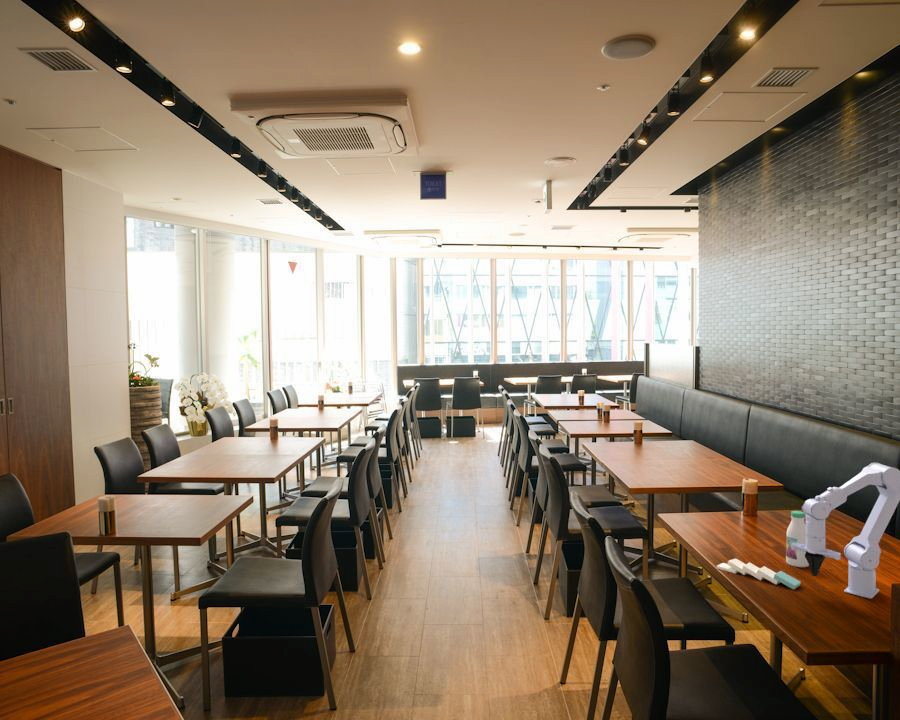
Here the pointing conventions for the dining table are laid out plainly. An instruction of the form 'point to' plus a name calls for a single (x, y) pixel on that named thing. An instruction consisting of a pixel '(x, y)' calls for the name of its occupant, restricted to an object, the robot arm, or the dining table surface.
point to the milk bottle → (796, 540)
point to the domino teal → (787, 580)
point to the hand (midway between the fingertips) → (815, 575)
